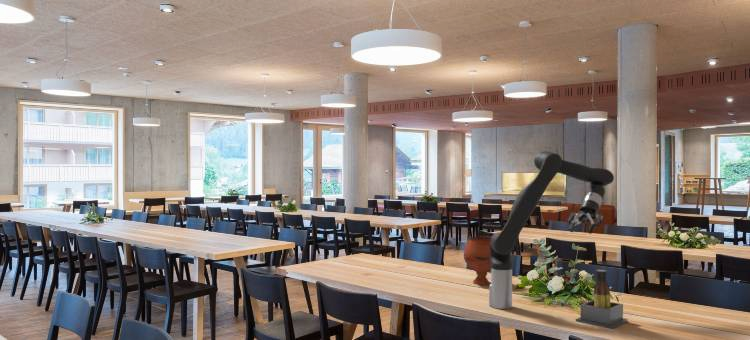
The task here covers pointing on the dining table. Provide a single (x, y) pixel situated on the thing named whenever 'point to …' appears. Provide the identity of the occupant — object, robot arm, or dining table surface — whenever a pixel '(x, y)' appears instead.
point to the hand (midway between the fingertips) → (580, 231)
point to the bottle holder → (602, 315)
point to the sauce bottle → (601, 290)
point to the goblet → (478, 257)
